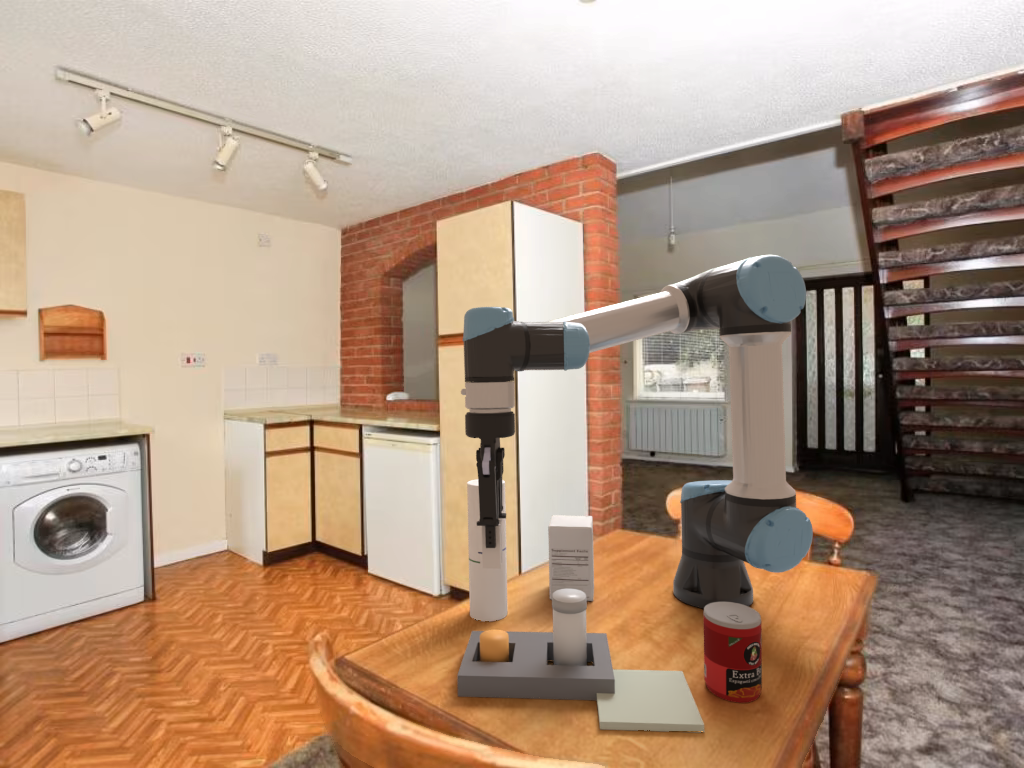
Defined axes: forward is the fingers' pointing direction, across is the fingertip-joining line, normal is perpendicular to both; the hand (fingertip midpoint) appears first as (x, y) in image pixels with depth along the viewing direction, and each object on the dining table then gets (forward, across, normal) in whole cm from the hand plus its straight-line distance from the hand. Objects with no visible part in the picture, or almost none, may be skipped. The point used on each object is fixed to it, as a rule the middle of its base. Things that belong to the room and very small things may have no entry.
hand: (492, 564), depth 88 cm
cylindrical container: (+17, -21, -4) cm, 27 cm away
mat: (+16, +7, +22) cm, 28 cm away
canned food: (+17, +3, +34) cm, 38 cm away
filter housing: (+16, 0, +6) cm, 18 cm away
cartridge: (+16, 0, +12) cm, 20 cm away
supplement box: (+17, -32, +12) cm, 38 cm away
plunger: (+15, 0, 0) cm, 15 cm away
